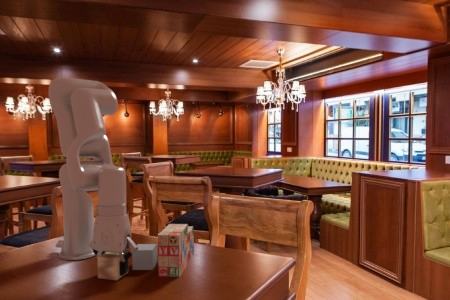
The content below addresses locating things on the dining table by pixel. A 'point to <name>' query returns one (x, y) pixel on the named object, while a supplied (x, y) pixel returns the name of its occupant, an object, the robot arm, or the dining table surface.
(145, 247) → the bluegrey block
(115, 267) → the maple cube
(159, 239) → the stack of blocks
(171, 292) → the dining table surface
